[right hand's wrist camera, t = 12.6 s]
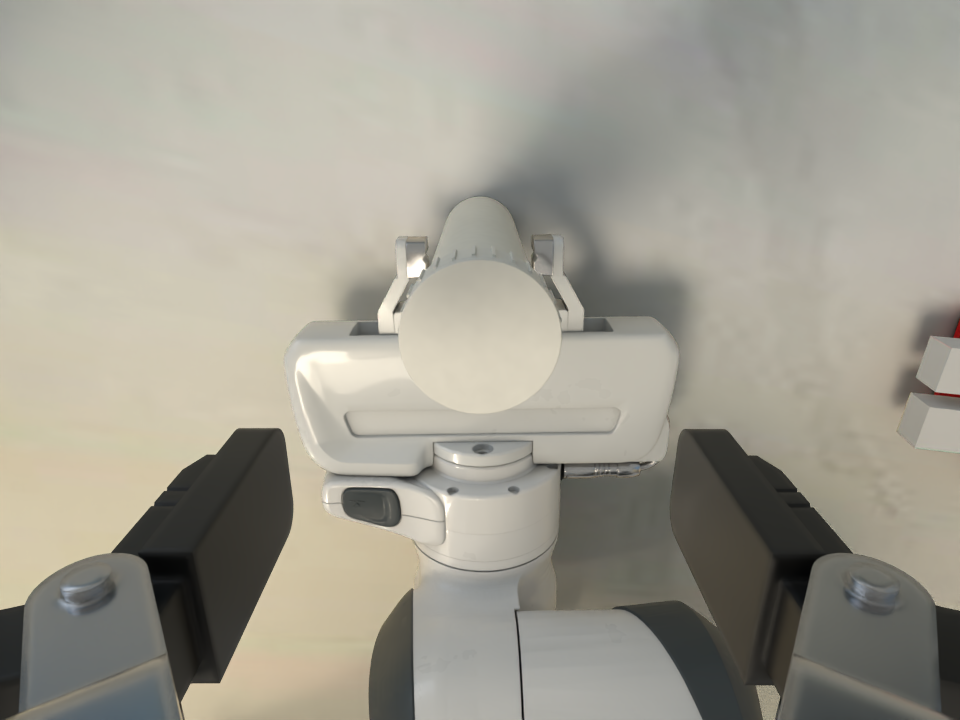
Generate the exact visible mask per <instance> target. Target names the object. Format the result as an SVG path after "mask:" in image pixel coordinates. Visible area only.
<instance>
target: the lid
mask: <svg viewBox="0 0 960 720" xmlns="http://www.w3.org/2000/svg"><path fill="white" fill-rule="evenodd" d="M406 297H407V298H408V299H407V301H406V300H405V301H404V304H403V306H402V308H401V311H400V314H399V315H401V318H400V323H399V328H398V330H397V334H398V342H399V350H400V354H401V358H402V361H403V364H404V366H405V368H406V370H407V372H408V374H409V376H410V377H411V379H412V380H413V381H414V383H415V384H416V385H417V386H418V387H419V388H420V389H421V391H422V392H424V393H425V394H426V395H427V396H428V397H430V398H431V399H433V400H434V401H436V402H437V403H439V404H441V405H443V406H445V407H447V408H450V409H453V410H456V411H460V412H465V413H473V414H489V413H495V412H500V411H504V410H507V409H510V408H512V407H515V406H517V405H519V404H521V403H523V402H524V401H526V400H527V399H529V398H530V397H532V396H533V395H534V394H535V393H536V392H537V391H538V390H540V389H541V388H542V386H543V385H544V384H545V383H546V381H547V380H548V379H549V377H550V376H551V374H552V372H553V371H554V368H555V366H556V364H557V362H558V358H559V355H560V350H561V344H562V330H561V322H562V318H561V316H560V314H559V311H558V309H557V307H555V304H556V303H557V302H556V299H555V297H554V295H553V292H552V290H548V288H547V284H546V282H545V279H544V277H543V275H542V274H540V275H539V274H538V273H537V272H536V271H535V270H534V269H533V268H532V267H531V264H530V262H529V261H527V262H524V261H523V260H521V259H520V258H518V257H516V256H514V252H511V251H510V253H507V252H504V251H501V250H497V249H495V246H492V247H491V248H476V246H475V245H473V246H472V248H469V249H463V250H459V251H457V250H456V249H454V250H453V253H450V254H448V255H446V256H444V257H442V258H439V257H437V258H436V259H435V262H434V263H433V264H432V265H431V266H429V267H428V268H427V269H426V270H425V269H422V270H421V273H420V275H419V278H418V280H417V281H416V283H415V284H411V286H410V288H409V291H408V293H407V295H406Z"/></svg>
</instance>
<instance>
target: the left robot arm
mask: <svg viewBox="0 0 960 720" xmlns="http://www.w3.org/2000/svg"><path fill="white" fill-rule="evenodd" d="M531 247H532V249H533V253H532V255H531V267H532V268H533V269H534V270H535V271H536V272H537V273H538V274H539V275H540V274H542V275H550V277H551V279H552V281H553V282H554V284H555V286H556V288H557V290H558V291H559V293H560V295H561V297H562V298H563V300H562V299H556V302H557V303H556V304H555V307H557V309H558V311H559V314H560V316H561V318H562V322H561V330H562V344H561V350H560V355H559V358H558V362H557V364H556V366H555V368H554V371H553V372H552V374H551V376H550V377H549V379H548V380H547V381H546V383H545V384H544V385H543V386H542V388H541V389H540V390H538V391H537V392H536V393H535V394H534V395H533V396H532V397H530V398H529V399H527V400H526V401H524V402H523V403H521V404H519V405H517V406H515V407H512V408H510V409H507V410H504V411H500V412H495V413H489V414H473V413H465V412H460V411H456V410H453V409H450V408H447V407H445V406H443V405H441V404H439V403H437V402H436V401H434V400H433V399H431V398H430V397H428V396H427V395H426V394H425V393H424V392H422V391H421V389H420V388H419V387H418V386H417V385H416V384H415V383H414V381H413V380H412V379H411V377H410V376H409V374H408V372H407V370H406V368H405V366H404V364H403V361H402V358H401V354H400V350H399V342H398V334H397V330H398V328H399V323H400V318H401V315H399V314H400V311H401V308H402V306H403V304H404V301H401V302H399V303H398V301H399V299H400V297H401V295H402V293H403V291H404V290H405V288H406V286H407V284H408V282H409V280H410V278H415V277H419V275H420V273H421V270H422V269H425V270H426V269H427V268H428V267H429V256H428V255H427V254H426V253H427V250H428V237H408V236H405V237H398V238H397V240H396V248H395V251H396V267H397V275H396V277H395V279H394V281H393V283H392V285H391V287H390V289H389V290H388V292H387V294H386V296H385V298H384V300H383V302H382V304H381V306H380V308H379V310H378V312H377V313H378V320H357V321H313V322H310V323H308V324H307V325H306V326H305V327H304V328H303V329H302V330H301V331H300V332H299V333H298V334H297V335H296V336H295V337H294V339H293V340H292V341H291V343H290V344H289V346H288V348H287V349H286V352H285V355H284V370H285V377H286V383H287V389H288V394H289V398H290V403H291V407H292V411H293V415H294V419H295V422H296V425H297V429H298V432H299V435H300V438H301V441H302V444H303V446H304V448H305V450H306V452H307V454H308V455H309V456H310V458H311V459H312V460H313V461H314V462H315V463H316V464H317V465H318V466H320V467H321V468H323V469H324V470H326V474H325V477H324V481H323V486H322V503H323V507H324V509H325V510H326V511H327V512H328V513H329V514H330V515H333V516H335V517H338V518H341V519H345V520H349V521H353V522H357V523H361V524H365V525H369V526H372V527H376V528H380V529H383V530H386V531H389V532H393V533H396V534H399V535H401V536H404V537H407V538H410V539H412V541H413V543H414V546H415V549H416V551H417V554H418V558H419V564H418V568H417V571H416V575H415V581H414V589H413V588H412V589H411V590H409V591H408V592H407V593H406V594H405V595H404V597H403V598H402V599H401V600H400V601H399V603H398V604H397V605H396V607H395V608H394V610H393V611H392V612H391V614H390V615H389V617H388V618H387V620H386V621H385V623H384V624H383V625H382V627H381V629H380V632H379V634H378V637H377V639H376V643H375V646H374V650H373V654H372V660H371V667H370V677H369V717H370V720H763V718H762V713H761V708H760V703H759V699H758V694H757V690H756V686H755V685H745V684H744V682H743V680H742V678H741V676H740V674H739V672H738V670H737V668H736V665H735V663H734V661H733V659H732V657H731V655H730V653H729V651H728V648H727V646H726V644H725V642H724V640H723V638H722V636H721V634H720V631H719V629H718V628H717V627H716V626H715V625H713V624H712V623H711V622H709V621H708V620H707V619H706V618H704V617H703V616H702V615H700V614H699V613H698V612H696V611H695V610H693V609H692V608H690V607H689V606H687V605H686V604H684V603H682V602H680V601H665V602H656V603H647V604H638V605H628V606H619V607H615V608H613V609H605V610H556V594H557V583H556V575H555V571H554V568H553V565H552V562H551V555H552V553H553V550H554V548H555V545H556V542H557V539H558V532H559V514H560V480H562V479H577V478H594V477H603V476H616V477H618V478H630V477H636V476H639V475H640V471H641V470H645V469H648V468H651V467H653V466H654V465H656V464H657V463H658V462H659V461H661V460H663V459H664V457H665V455H666V453H667V449H668V440H669V431H670V421H669V418H668V415H667V413H668V410H669V407H670V403H671V399H672V395H673V391H674V386H675V381H676V376H677V371H678V365H679V357H680V352H679V347H678V344H677V343H676V341H675V339H674V338H673V337H672V335H671V334H670V332H669V331H668V330H667V329H666V328H665V327H664V326H663V325H662V324H661V323H660V322H658V321H657V320H656V319H655V318H653V317H650V316H619V317H584V308H583V306H582V304H581V302H580V301H579V299H578V297H577V295H576V293H575V291H574V290H573V288H572V286H571V284H570V282H569V281H568V279H567V277H566V275H565V273H564V271H563V266H564V239H563V237H562V235H561V234H540V235H532V240H531ZM640 462H644V463H640Z"/></svg>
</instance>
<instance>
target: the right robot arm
mask: <svg viewBox="0 0 960 720" xmlns="http://www.w3.org/2000/svg"><path fill="white" fill-rule="evenodd" d="M154 503H155V504H154V506H151V507H150V508H149V509H148V511H147V512H146V513H145V514H144V515H143V516H142V518H141V519H140V520H139V521H138V522H137V523H136V524H135V526H134V527H133V528H132V529H131V530H130V531H129V533H128V534H127V535H126V536H125V537H124V538H123V540H122V541H121V542H120V543H119V544H118V545H117V547H116V548H115V549H114V550H113V551H112V552H111V553H109V554H102V555H97V556H93V557H89V558H86V559H83V560H80V561H77V562H75V563H73V564H70V565H68V566H66V567H64V568H62V569H60V570H59V571H57V572H55V573H54V574H52V575H51V576H49V577H48V578H46V579H45V580H44V581H43V582H41V583H40V584H39V585H38V586H37V587H36V588H35V589H34V590H33V592H32V593H31V594H30V596H29V597H28V599H27V601H26V603H25V605H22V606H17V607H13V608H8V609H3V610H0V720H185V718H184V713H183V709H182V705H181V701H182V699H183V697H184V695H185V693H186V691H187V689H188V687H189V685H190V683H220V682H221V679H222V677H223V675H224V673H225V671H226V669H227V667H228V664H229V662H230V660H231V658H232V656H233V654H234V651H235V649H236V647H237V645H238V643H239V641H240V639H241V636H242V634H243V632H244V630H245V628H246V626H247V624H248V621H249V619H250V617H251V615H252V613H253V611H254V609H255V606H256V604H257V602H258V600H259V598H260V596H261V593H262V591H263V589H264V587H265V585H266V583H267V581H268V578H269V576H270V574H271V572H272V570H273V568H274V566H275V563H276V561H277V559H278V557H279V555H280V553H281V551H282V548H283V546H284V544H285V542H286V540H287V538H288V535H289V533H290V530H291V525H292V519H293V497H292V489H291V481H290V474H289V466H288V458H287V451H286V443H285V438H284V434H283V432H282V430H281V429H279V428H239V429H237V430H236V431H235V432H234V433H233V434H232V435H231V437H230V438H229V439H228V440H227V442H226V443H225V444H224V445H223V447H222V448H221V449H220V450H219V452H218V453H217V454H216V455H206V456H204V457H202V458H201V459H199V460H198V461H196V462H194V463H193V464H191V465H190V466H188V467H186V468H185V469H183V470H182V471H181V472H180V473H179V475H178V476H177V477H176V478H175V479H174V480H173V481H172V483H171V484H170V485H169V486H168V487H167V491H164V492H163V493H162V494H161V495H160V497H159V498H158V499H157V500H156V501H155V502H154ZM670 519H671V525H672V530H673V533H674V536H675V538H676V540H677V543H678V545H679V547H680V549H681V551H682V553H683V555H684V557H685V559H686V562H687V564H688V566H689V568H690V570H691V572H692V574H693V576H694V579H695V581H696V583H697V585H698V587H699V589H700V591H701V593H702V595H703V598H704V600H705V602H706V604H707V606H708V608H709V610H710V612H711V615H712V617H713V619H714V621H715V623H716V625H717V627H718V629H719V631H720V634H721V636H722V638H723V640H724V642H725V644H726V646H727V648H728V651H729V653H730V655H731V657H732V659H733V661H734V663H735V665H736V668H737V670H738V672H739V674H740V676H741V678H742V680H743V682H744V684H745V685H775V687H776V689H777V691H778V693H779V695H780V701H779V705H778V709H777V713H776V718H775V720H960V611H958V610H953V609H949V608H944V607H940V606H936V605H935V603H934V601H933V599H932V597H931V596H930V594H929V593H928V592H927V590H926V589H925V588H924V587H923V586H922V585H921V584H920V583H919V582H917V581H916V580H915V579H914V578H912V577H911V576H909V575H908V574H906V573H905V572H903V571H901V570H900V569H898V568H896V567H894V566H892V565H890V564H887V563H885V562H883V561H880V560H877V559H874V558H871V557H867V556H863V555H858V554H853V553H852V552H851V550H850V549H849V548H848V547H847V546H846V545H845V543H844V542H843V541H842V540H841V539H840V538H839V537H838V535H837V534H836V533H835V532H834V531H833V530H832V529H831V527H830V526H829V525H828V524H827V523H826V522H825V520H824V519H823V518H822V517H821V516H820V515H819V514H818V512H817V511H816V510H815V509H814V508H810V503H809V502H808V501H807V500H806V499H805V497H804V496H803V495H802V494H801V493H800V492H797V488H796V487H795V486H794V485H793V484H792V482H791V481H790V480H789V479H788V478H787V477H786V476H785V474H784V473H783V472H782V471H781V470H779V469H778V468H776V467H774V466H773V465H771V464H769V463H768V462H766V461H765V460H763V459H761V458H760V457H758V456H748V455H747V454H746V453H745V452H744V450H743V449H742V448H741V447H740V445H739V444H738V443H737V442H736V440H735V439H734V438H733V437H732V435H731V434H730V433H729V432H728V431H727V430H725V429H684V430H683V431H682V432H681V433H680V436H679V440H678V446H677V453H676V461H675V468H674V476H673V483H672V491H671V499H670Z"/></svg>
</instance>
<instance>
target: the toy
mask: <svg viewBox="0 0 960 720" xmlns="http://www.w3.org/2000/svg"><path fill="white" fill-rule="evenodd" d="M916 378H917V379H918V380H919V381H921V382H922V383H924V384H925V385H926V386H928V387H929V388H930V389H932V390H933V391H935V393H934V395H931V394H922V393H912V392H910V395H909V398H908V401H907V403H906V406H905V409H904V412H903V415H902V417H901V420H900V423H899V426H898V429H897V432H898V433H899V434H900V435H901V436H902V437H903V438H904V439H905V440H906V441H907V442H908V443H909V444H910V445H912V446H913V447H914V448H917V449H925V450H934V451H942V452H950V453H959V454H960V320H959V322H958V325H957V328H956V331H955V334H954V337H953V338H950V337H940V336H930V339H929V341H928V344H927V347H926V350H925V353H924V356H923V358H922V361H921V364H920V367H919V370H918V372H917V375H916Z"/></svg>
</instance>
